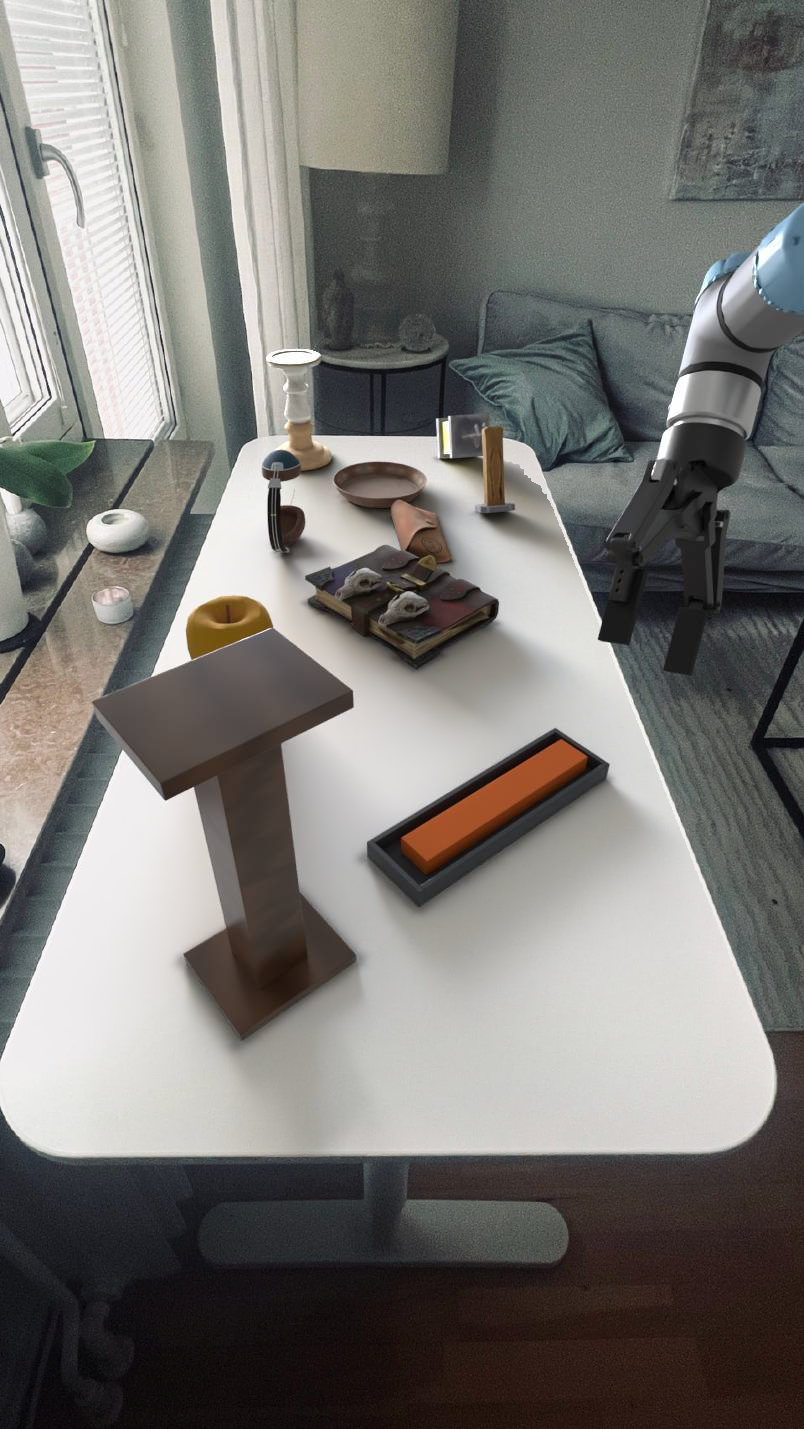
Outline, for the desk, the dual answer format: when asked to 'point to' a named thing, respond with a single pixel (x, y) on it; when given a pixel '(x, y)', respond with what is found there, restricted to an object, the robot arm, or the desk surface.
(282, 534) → the headphones
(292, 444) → the candle holder
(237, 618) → the apple
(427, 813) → the tray
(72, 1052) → the desk surface
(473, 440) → the desk lamp
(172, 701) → the stand
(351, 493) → the plant saucer
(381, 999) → the desk surface
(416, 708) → the desk surface
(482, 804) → the orange long flat bar
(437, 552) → the sunglasses case
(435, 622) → the book
